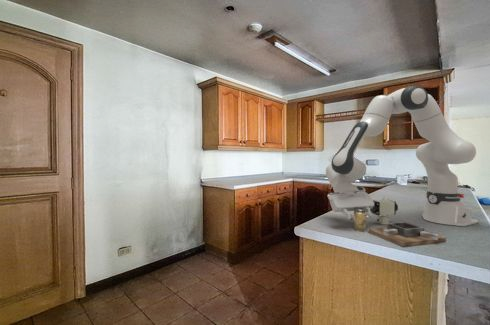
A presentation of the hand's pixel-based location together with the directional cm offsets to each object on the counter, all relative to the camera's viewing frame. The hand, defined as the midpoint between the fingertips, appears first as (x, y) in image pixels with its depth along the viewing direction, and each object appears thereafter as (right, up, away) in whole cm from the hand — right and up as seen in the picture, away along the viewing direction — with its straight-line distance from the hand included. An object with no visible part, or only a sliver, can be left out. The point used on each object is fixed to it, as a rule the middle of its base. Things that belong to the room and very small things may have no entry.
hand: (360, 218), depth 100 cm
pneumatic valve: (+15, -5, +9) cm, 19 cm away
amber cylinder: (0, -5, +1) cm, 5 cm away
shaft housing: (+13, -5, -9) cm, 17 cm away
